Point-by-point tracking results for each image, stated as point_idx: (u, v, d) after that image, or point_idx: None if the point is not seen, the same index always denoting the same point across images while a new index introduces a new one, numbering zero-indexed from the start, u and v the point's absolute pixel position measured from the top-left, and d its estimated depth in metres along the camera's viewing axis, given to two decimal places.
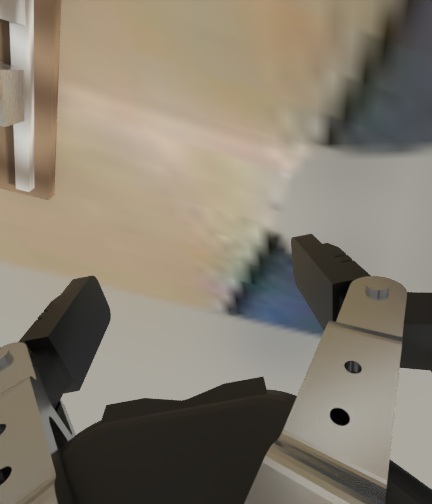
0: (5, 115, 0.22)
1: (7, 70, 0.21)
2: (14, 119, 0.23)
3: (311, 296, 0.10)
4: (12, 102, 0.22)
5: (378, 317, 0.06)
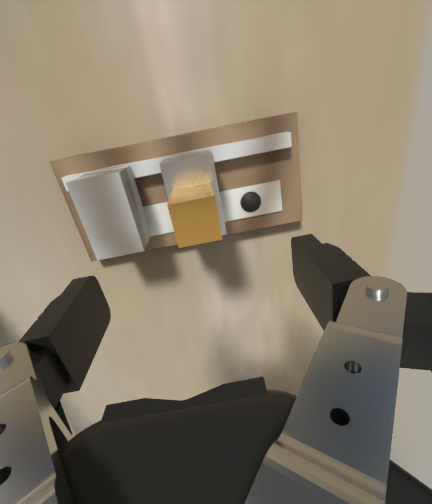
0: (200, 155, 0.21)
1: (161, 162, 0.21)
2: (206, 152, 0.22)
3: (311, 296, 0.10)
4: (190, 156, 0.22)
5: (378, 318, 0.06)
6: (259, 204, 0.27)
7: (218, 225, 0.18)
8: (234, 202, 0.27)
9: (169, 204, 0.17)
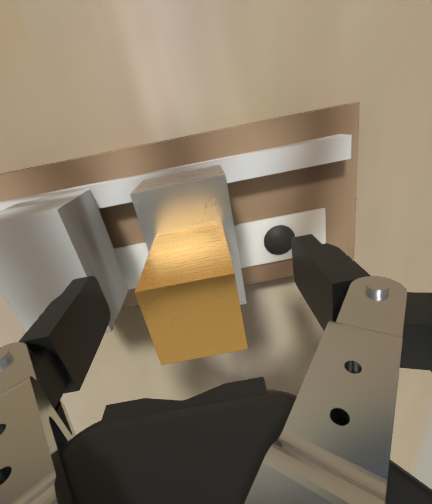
0: (204, 178, 0.12)
1: (135, 189, 0.12)
2: (214, 170, 0.13)
3: (311, 296, 0.10)
4: (186, 177, 0.13)
5: (378, 318, 0.06)
6: None
7: (240, 326, 0.09)
8: (254, 240, 0.18)
9: (139, 290, 0.08)
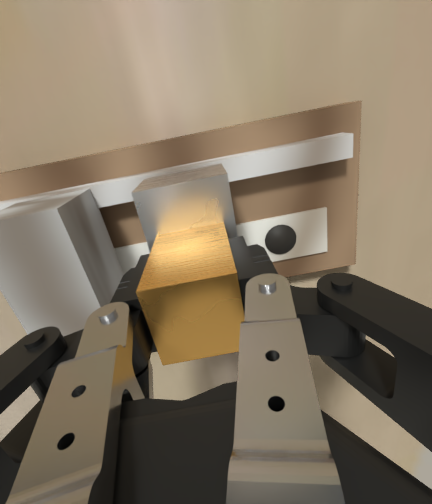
0: (206, 177, 0.11)
1: (136, 188, 0.12)
2: (216, 169, 0.13)
3: None
4: (187, 176, 0.12)
5: (275, 307, 0.07)
6: (293, 242, 0.18)
7: None
8: (255, 239, 0.18)
9: (141, 290, 0.08)
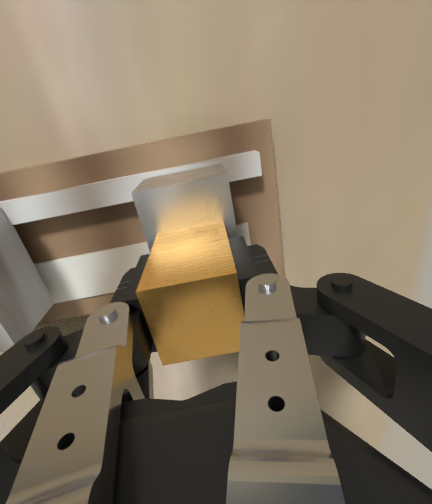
0: (206, 176, 0.11)
1: (136, 188, 0.12)
2: (216, 169, 0.13)
3: None
4: (187, 176, 0.12)
5: (275, 308, 0.07)
6: None
7: None
8: None
9: (140, 290, 0.08)
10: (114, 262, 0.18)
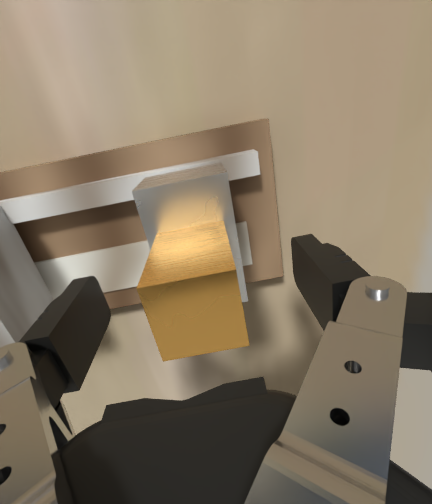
0: (206, 175, 0.12)
1: (136, 186, 0.12)
2: (216, 168, 0.13)
3: (311, 296, 0.10)
4: (187, 174, 0.13)
5: (379, 317, 0.06)
6: None
7: (242, 322, 0.09)
8: None
9: (141, 286, 0.08)
10: (114, 261, 0.18)
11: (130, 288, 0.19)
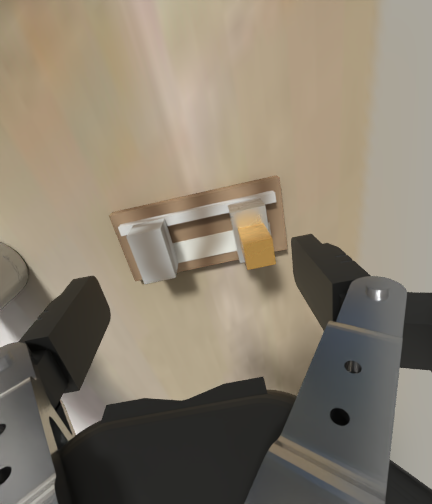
0: (257, 206, 0.31)
1: (229, 210, 0.32)
2: (259, 202, 0.32)
3: (311, 296, 0.10)
4: (248, 205, 0.32)
5: (378, 318, 0.06)
6: None
7: (273, 255, 0.29)
8: None
9: (244, 244, 0.28)
10: (206, 242, 0.37)
11: (212, 256, 0.39)
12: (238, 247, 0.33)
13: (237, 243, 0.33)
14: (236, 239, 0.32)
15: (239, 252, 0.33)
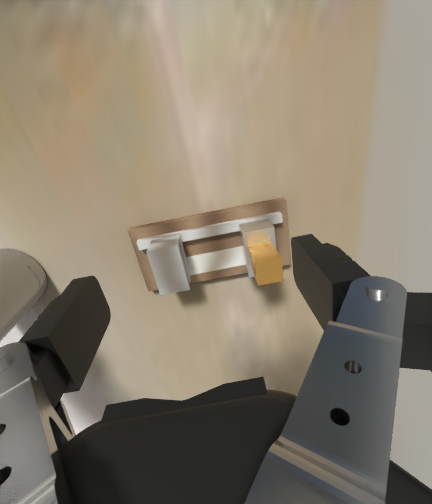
0: (266, 227, 0.34)
1: (241, 230, 0.35)
2: (268, 223, 0.35)
3: (311, 296, 0.10)
4: (258, 225, 0.35)
5: (378, 317, 0.06)
6: None
7: (282, 273, 0.32)
8: None
9: (255, 262, 0.31)
10: (216, 257, 0.40)
11: (221, 269, 0.42)
12: (248, 263, 0.36)
13: (247, 260, 0.36)
14: (246, 256, 0.36)
15: (248, 268, 0.36)
